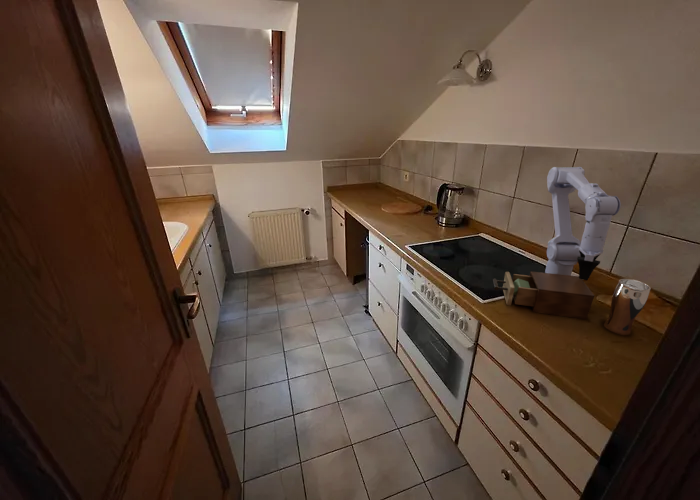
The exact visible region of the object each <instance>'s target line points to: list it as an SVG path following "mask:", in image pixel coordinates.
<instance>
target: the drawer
mask: <svg viewBox="0 0 700 500" xmlns="http://www.w3.org/2000/svg"><path fill="white" fill-rule="evenodd" d="M503 278H504V279H503V280H500V279H497V278H492V285H493V289H494V291H498V290H502V292H503V295H504V299H505V303H506V305H507V306H512V301H513V302H514V304H515V305H518V306H519V305H520V306H525V307H526V306H527V307H531V306H533V307H534V304H535V300H536V296H537V292H538V289H537V287H536V284H535V282H534V280H533V278H532V276H530V275H526V274H520V273H519V274H517V273H513V276H511V273H510V272H509V271H505V273H504V277H503ZM517 279H521V280H525V281H528V282H529V286H530V288H526V287H518V290H517V295H514V294H513V293H514V288H515V287H514V284H513V282H514V281H515V280H517ZM498 283H500V284H501V283H502V286H499V284H498Z"/></svg>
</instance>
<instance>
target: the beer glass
mask: <svg viewBox="0 0 700 500" xmlns="http://www.w3.org/2000/svg"><path fill="white" fill-rule="evenodd" d="M651 289H652V288H651V286H650V285H648V284H647V283H645V282H643V281H640V280H637V279H633V278H620V279H619V280H618V282H617V285H616V287H615V288H614V291H613V292H612V296H611V302H610V310H609V315H608V317H607V319H606V320H605V321H604V323H603V326H604V328H605V329H606V330H608V331H609V332H611V333H614V334H615V335H616V334H617V335H620V336H629V335H631V333H632V328H633V324H634V322H635V320H636V318H637V317H638V315H639V314H641V312H642V311H643V309H644V308H645V305H646V304H647V302H648V299H649V295H650V292H651Z"/></svg>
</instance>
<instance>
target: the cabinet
mask: <svg viewBox="0 0 700 500" xmlns="http://www.w3.org/2000/svg"><path fill="white" fill-rule="evenodd" d="M529 276H532V278H533V280H534V282H535V284H536V287H537V289H538V292H537V296H536V300H535V304H534V307H533V306H530V307H531V310H532V313H539V314H546V315H552V316H560V317H567V318H574V319H581V320H587V319H588V316H589V315H590V314H589V313H590V310H591V308H592V304H593V301H594V298H595V293H593V292H592V290H591V289H590V287H589V286H588V285H587V284H586V282H585V281H584V280H583V279H579V275H571V276H569V275H560V274H551V273H545V272H541V271H540V272H539V271H530V273H529Z"/></svg>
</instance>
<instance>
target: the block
mask: <svg viewBox="0 0 700 500" xmlns="http://www.w3.org/2000/svg"><path fill="white" fill-rule="evenodd" d="M513 284H514V287H515V288H514V293H513V294H514V295H517V290H518V287H526V288H530V286H529V282H528V281H525V280H521V279H517V280H515V281H514V282H513Z"/></svg>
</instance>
